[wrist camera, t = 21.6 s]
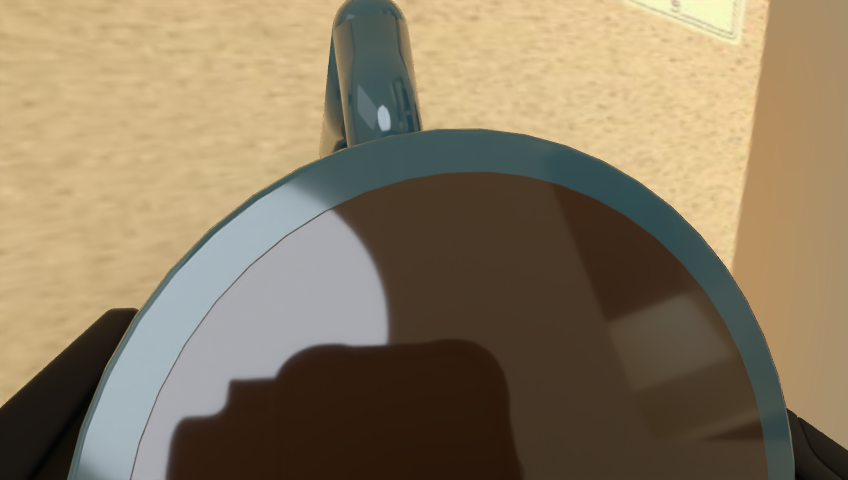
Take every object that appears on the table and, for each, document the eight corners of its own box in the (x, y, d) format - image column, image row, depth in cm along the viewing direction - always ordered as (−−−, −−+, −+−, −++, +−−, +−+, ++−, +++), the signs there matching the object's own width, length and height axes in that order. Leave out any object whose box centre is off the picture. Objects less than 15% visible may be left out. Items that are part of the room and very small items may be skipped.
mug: (464, 423, 17) (862, 761, 5) (262, 470, 15) (99, 1163, 3) (425, 157, 18) (692, -133, 5) (225, 174, 16) (-26, -190, 4)
